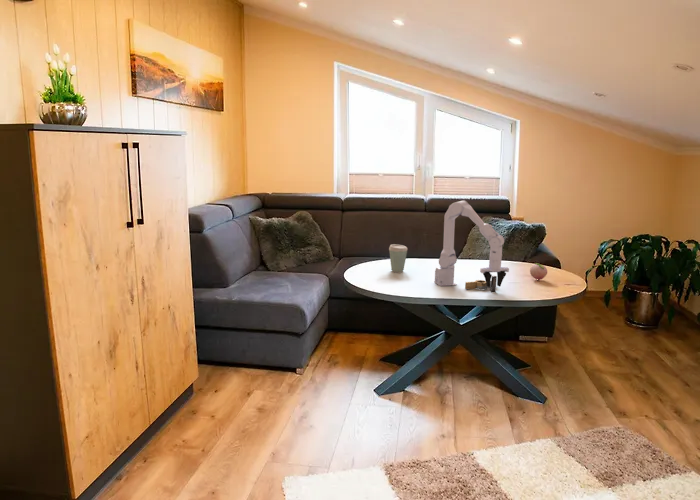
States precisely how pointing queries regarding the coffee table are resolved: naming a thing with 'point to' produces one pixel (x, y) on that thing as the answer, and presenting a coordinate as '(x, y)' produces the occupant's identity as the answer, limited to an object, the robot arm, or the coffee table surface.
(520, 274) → the coffee table surface
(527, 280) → the coffee table surface
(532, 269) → the decorative fruit
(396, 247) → the disposable coffee cup
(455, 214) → the robot arm
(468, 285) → the hinge
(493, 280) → the hinge pin
